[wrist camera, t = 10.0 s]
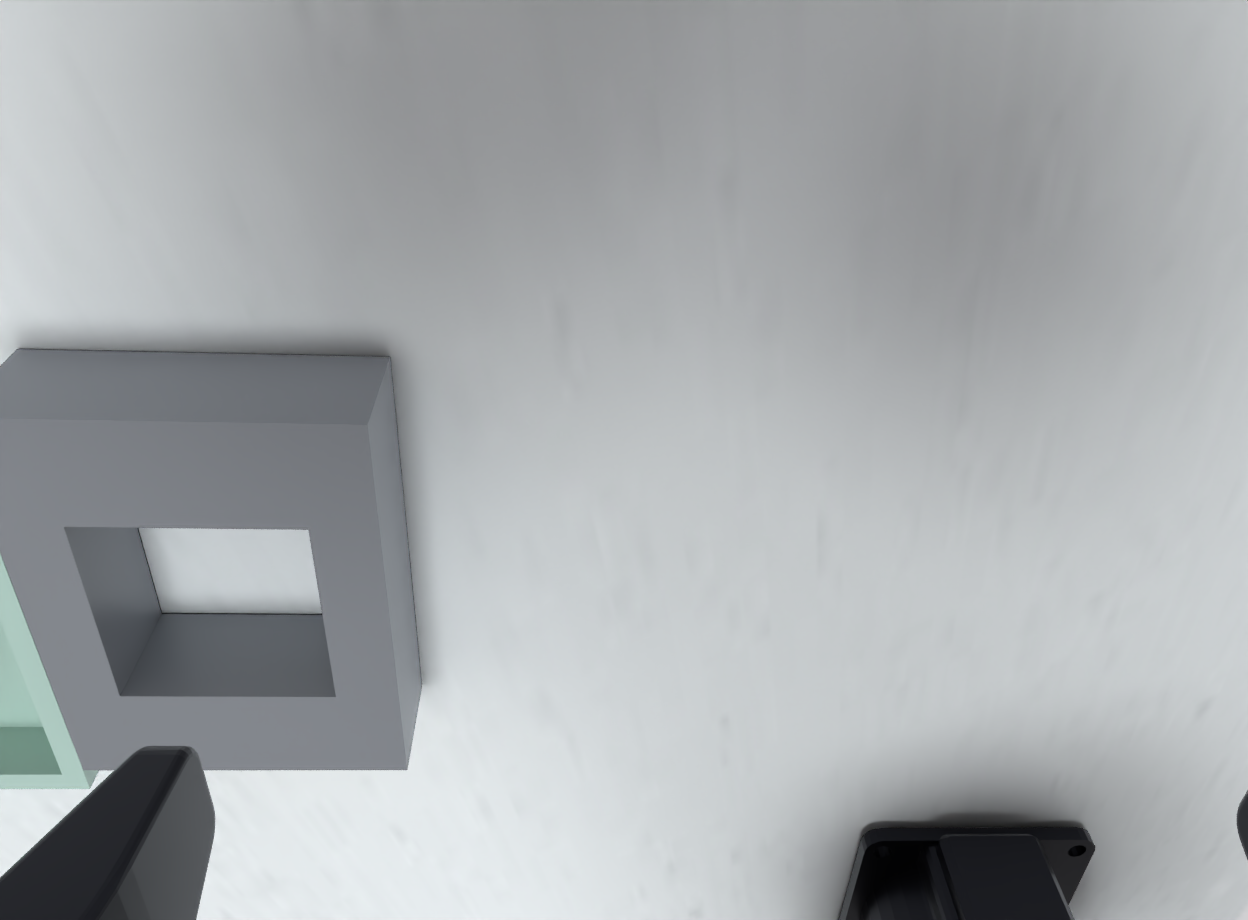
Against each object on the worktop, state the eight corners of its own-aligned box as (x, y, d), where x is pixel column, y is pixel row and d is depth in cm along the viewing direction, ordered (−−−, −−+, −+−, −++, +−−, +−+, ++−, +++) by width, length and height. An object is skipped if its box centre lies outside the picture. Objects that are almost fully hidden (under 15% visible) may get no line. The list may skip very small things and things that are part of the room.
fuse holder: (422, 689, 25) (407, 772, 23) (127, 688, 24) (84, 772, 22) (390, 356, 20) (367, 424, 18) (17, 349, 19) (-52, 417, 17)
